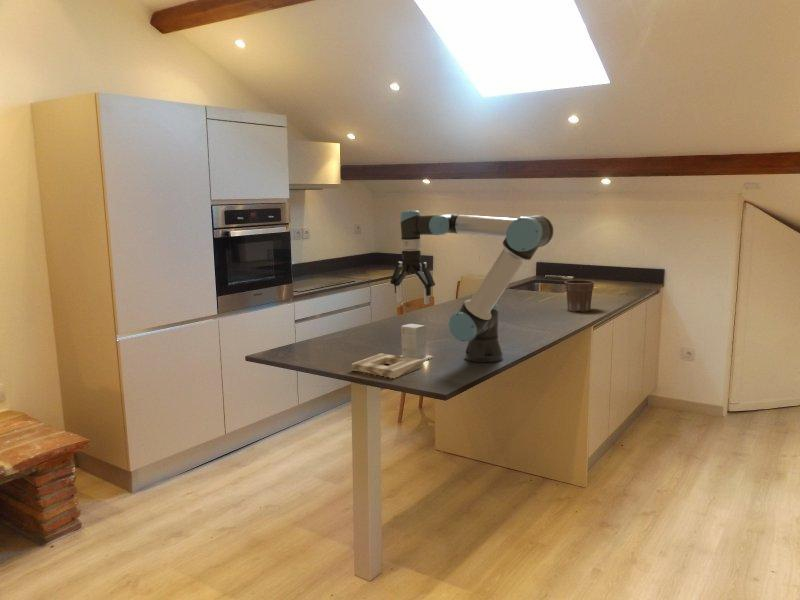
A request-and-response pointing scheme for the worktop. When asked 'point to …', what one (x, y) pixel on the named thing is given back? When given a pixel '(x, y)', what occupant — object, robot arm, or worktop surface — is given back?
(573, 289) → the plant pot
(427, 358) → the ceramic tile
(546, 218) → the robot arm
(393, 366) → the pocket block
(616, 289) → the worktop surface
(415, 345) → the small box
